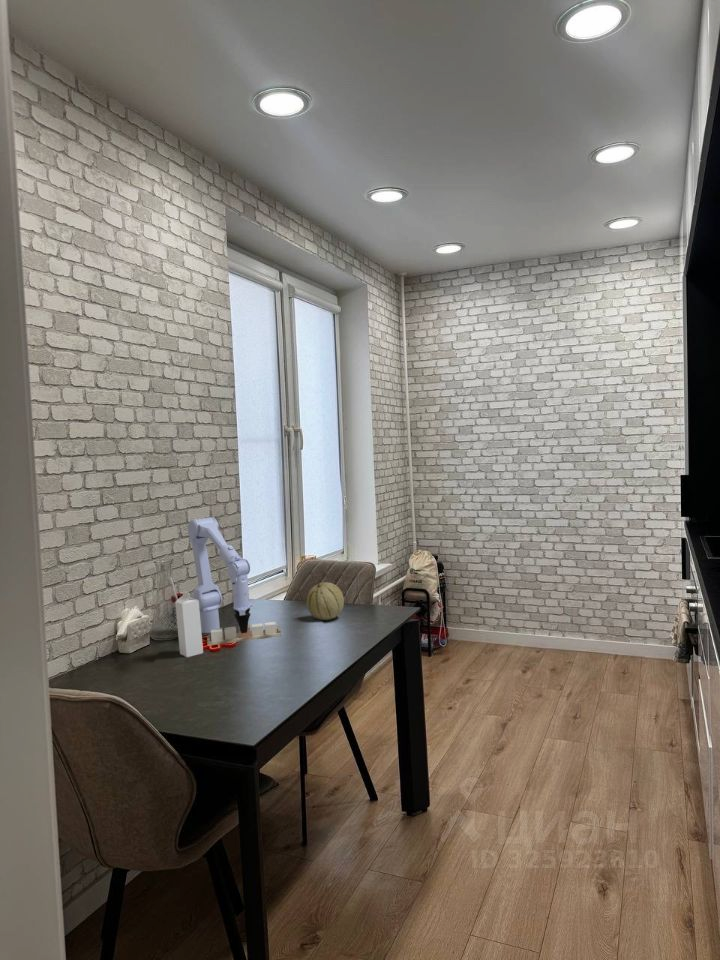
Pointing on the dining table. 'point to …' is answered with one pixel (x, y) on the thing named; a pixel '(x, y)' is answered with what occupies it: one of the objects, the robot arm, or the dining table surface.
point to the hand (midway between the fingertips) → (243, 630)
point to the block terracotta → (245, 633)
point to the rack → (238, 639)
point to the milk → (189, 625)
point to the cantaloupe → (325, 601)
